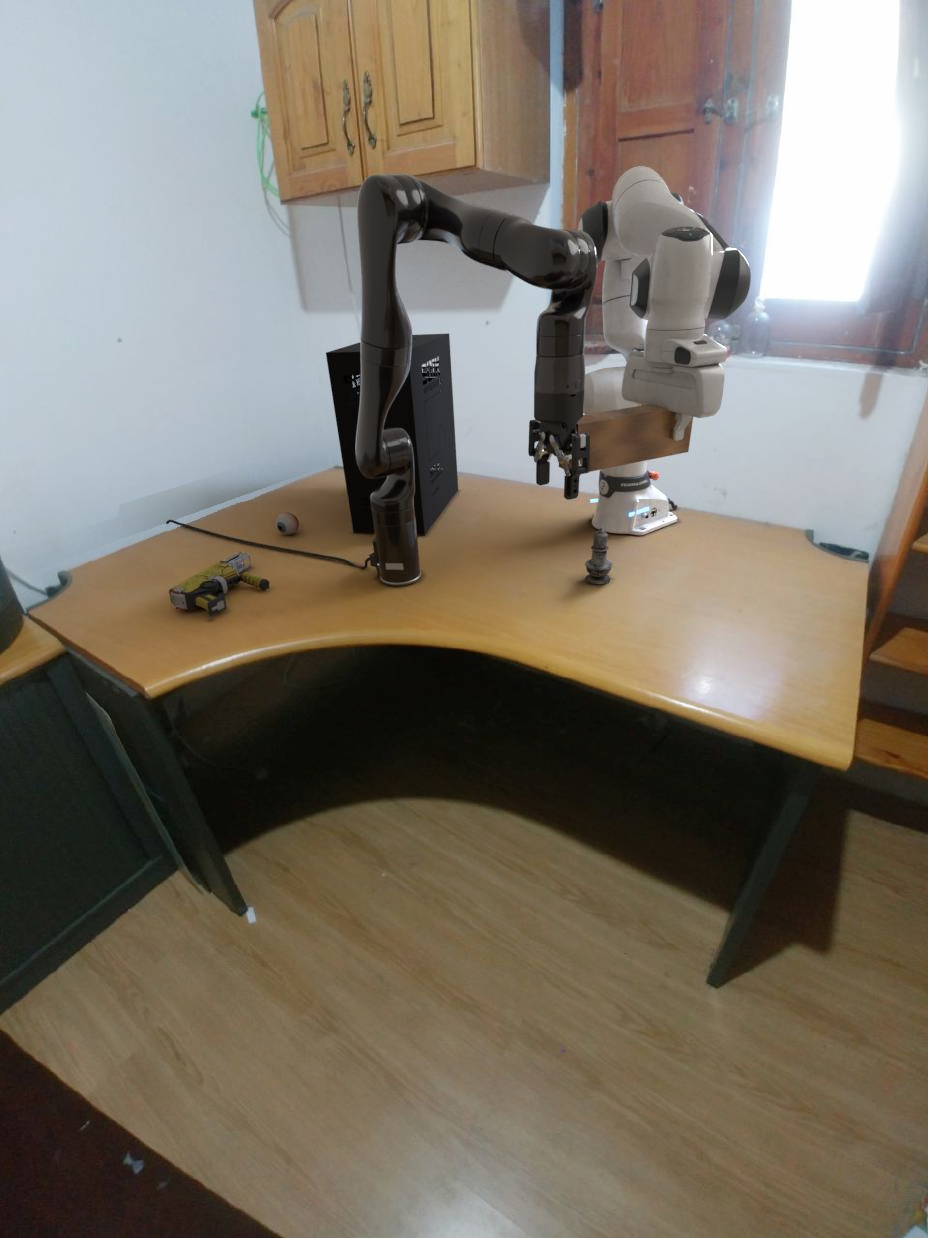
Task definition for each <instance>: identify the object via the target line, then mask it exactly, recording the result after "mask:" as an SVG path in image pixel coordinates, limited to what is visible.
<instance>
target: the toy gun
mask: <svg viewBox="0 0 928 1238" xmlns="http://www.w3.org/2000/svg"><path fill="white" fill-rule="evenodd" d="M248 559H249V563H248V564H247V563H245V561H247V560H248ZM251 562H252V561H251V555H250V554H249V553H248V552H246V551H245V552H244V553H243V551H238V552H237V553H234V554H232V555H231V556H229V557H227V558H225V559H224V560H220V561H218V562H216V563H215V564H213V565H211V566H209V567H207V568H206V569H204V570H202V571H200V572H198V573H196V574H195V575H192V576H191V577H189V578H187V579H186V580H183V581H181V582H180V583H178V584H176V585H174V586H173V587H170V588H169V589H168V594H169V599H170V603H171V605H172V606H173V607H174V608H175V610H179V611H184V610H187V611H189V610H195V609H199V608H202V609H205V610H206V611H208V616H209V617H214V616H216V615H218V614H220V613H223V611H225V610H227V603H226V597H225V595H226V594H227V593H228V591H229V588H231V587H233V586H236V585H238V584H239V583H241V582H242V583H245V584H247V585H250V586H252V587H255V588H258V589H260V590H261V591H266V590H268V589H269V588H270V581H269V579H267V578H262V577H260V576H257V575H254V574H251V573H249V572H247V571H246V572H244V571H245V570H246V569H248V568H251V567H252V563H251ZM242 572H243V573H242ZM240 573H242V574H241V575H240Z"/></svg>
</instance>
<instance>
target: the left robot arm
mask: <svg viewBox="0 0 928 1238" xmlns="http://www.w3.org/2000/svg"><path fill="white" fill-rule="evenodd" d="M357 195H358V196H357V203H356V221H357V222H356V224H357V240H358V252H359V264H360V265H359V266H360V267H359V268H360V287H361V288H360V291H361V292H360V295H361V299H360V300H361V301H360V302H361V303H360V305H361V308H360V309H361V320H360V363H361V380H360V381H359V382H360V384H359V385H360V404H359V414H358V423H357V432H356V444H355V452H356V460H357V464H358V467H359V470H360V472H361V473H362V474H363V475H364V476H365V477H366V478H369V479H376V478H381V477H385V476H387V478H386V479H385V481H384V482H383V483H382V485H381V486H379V487H378V488H377V489H376V490H374V491H373V492H372V494H371V496H370V502H371V509H372V517H373V524H374V531H375V533H374V538H373V539H372V549H373V552H372V553H370V554H369V555H368V557H367V558H365V560H364V565H363V566H359V565H357V564H355V563H353V562H351V561H350V560H348V559H345V558H342V557H338V556H337V557H336V556H331V555H326V554H320V553H314V552H309V551H302V550H297V549H292V548H285V547H282V546H281V547H280V546H275V545H268V544H264V543H260V542H256V541H255V542H254V541H249V540H245V539H240V538H236V537H233V536H230V535H229V536H228V535H224V534H220V533H216V532H213V531H211V530H210V531H209V530H206V529H202V528H198V527H196V526H192V525H189V524H186V523H183V522H179V521H176V520H174V519H168V520H167V521H166V522H165V525H169V524H170V523H172V524H175V525H178V526H181V527H185V528H188V529H191V530H194V531H198V532H201V533H205V534H208V535H212V536H215V537H218V538H223V539H227V540H230V541H234V542H238V543H244V544H247V545H253V546H257V547H261V548H262V547H263V548H266V549H267V548H268V549H273V550H277V551H283V552H289V553H295V554H300V555H306V556H310V557H317V558H322V559H327V560H333V561H339V562H342V563H345V564H347V565H349V566H352V567H353V568H357V569H359V570H366V569H367V568H368V565H369V564H370V567H373V568H375V569H376V577H377V579H379V580H380V582H382V583H383V584H385V585H386V586H387V585H388V586H391V587H401V586H408V585H411V584H414V583H416V582H418V581H419V580H420V579H421V578H422V571H421V570H422V569H421V562H420V561H421V560H420V551H419V541H418V535H417V529H416V519H415V509H414V493H415V475H414V454H413V447H412V443H411V440H410V437H409V435H408V434H407V432H406V431H405V430H404V429H403V428H401V427H390V428H385V429H384V423H385V419H386V416H387V413H388V410H389V408H390V406H391V404H392V403H393V401H394V399H395V398H396V396H397V394H398V393H399V391H400V389H401V387H402V386H403V384H404V382H405V380H406V378H407V376H408V373H409V370H410V364H411V352H412V335H413V327H412V323H411V319H410V317H409V314H408V312H407V309H406V307H405V305H404V303H403V301H402V298H401V295H400V293H399V289H398V285H397V278H396V275H397V274H396V272H397V271H396V268H397V267H396V266H397V265H396V264H397V250H398V245H405V244H412V243H414V242H418V241H424V242H425V241H428V242H429V241H430V242H438V243H443V244H447V245H449V246H451V247H454V248H455V249H457V251H458V252H460V253H461V254H462V255H463V256H465V257H466V258H468V259H469V260H471V261H473V262H476V263H478V264H481V265H483V266H486V267H489V268H492V269H495V270H498V271H501V272H505V273H509V274H511V275H513V276H514V277H516V278H518V279H519V280H521V281H523V282H525V283H526V284H529V285H531V286H533V287H535V288H539V289H543V290H548V291H551V292H550V297H549V302H548V306H547V308H546V309H545V310H543V311H542V312H541V313H539V315H538V317H537V320H536V328H535V334H536V336H535V363H534V371H533V372H534V373H533V418H534V419H531V420H530V419H529V422H528V423H529V424H528V448H527V449H528V451H527V453H528V456H529V457H533V461H534V463H535V466H536V467H535V483H536V485H538V486H545V485H548V484H550V480H551V478H550V474H551V472H550V471H551V469H550V468H551V462H550V460H551V458H552V456H554V457H556V460H557V463H558V464H559V463H560V464H562V466H563V469H562V470H563V473H564V481H563V498H564V499H565V500H567V501H569V500H573V499H577V498H578V497H579V493H580V477H581V475H584V474H589V473H590V472H589V470H590V434H589V433H582V434H580V433H578V432H577V427H576V423H577V422H578V421H579V420H580V419H581V418H582V417H583V415H584V413H583V409H584V386H585V374H586V362H585V347H586V345H585V344H586V320H587V317H588V313H589V309H590V307H591V301H592V297H593V294H594V289H595V284H596V279H597V273H598V262H597V252H596V247H595V244H594V242H593V240H592V238H591V237H590V236H589V235H588V234H587V233H586V232H584V231H581V230H577V229H575V228H574V229H573V228H572V229H566V228H565V229H563V228H561V229H560V228H558V229H557V228H551V227H545V226H540V225H536V224H533V223H532V221H530V220H528V219H527V218H525V217H523V216H520V215H517V214H514V213H510V212H506V211H504V210H500V209H496V208H491V207H487V206H483V205H479V204H475V203H471V202H468V201H464V200H462V199H459V198H457V197H454V196H452V195H449V194H448V193H446V192H444V191H442V190H440V189H438V188H437V187H435V186H432V185H431V184H429V183H427V182H426V181H424V180H422V179H420V178H418V177H416V176H414V175H412V174H408V173H375V174H370V175H369V176H367V177H366V178H365V179H364V180H363V181H362V183H361V185H360V188H359V191H358V194H357ZM536 443H537V444H536ZM535 445H536V446H535ZM571 451H572V454H571V455H568V454H569V453H570V452H571ZM582 458H583V466H581V464H580V461H579V459H582ZM569 462H572V468H570V465H569Z"/></svg>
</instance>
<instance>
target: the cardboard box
mask: <svg viewBox="0 0 928 1238" xmlns="http://www.w3.org/2000/svg"><path fill="white" fill-rule="evenodd" d="M450 342H451V340H450V333H429V334H428V333H424V334H423V333H422V334H412V352H411V364H410V370H409V373H408V376H407V378H406V380H405V382H404V384H403V386H402V387H401V389H400V391H399V393H398V394H397V396H396V398H395V399H394V401H393V403H392V404H391V406H390V408H389V410H388V413H387V416H386V419H385V423H384V429H385V428H390V427H401V428H403V429H404V430H405V431H406V432H407V434H408V435H409V437H410V440H411V443H412V447H413V454H414V475H415V493H414V509H415V519H416V529H417V536H426V534H428V532H429V531H430V529H431V528H432V526H433V525H434V524H435V522H436V521H437V520H438V519H439V517H440V515H441V514H442V513H443V512H444V510H445V509H446V507H447V506H448V505H449V503H450V502H451V501H452V500H453V498H454V497H455V495H456V494H457V493H458V491H459V481H458V480H459V479H458V461H457V446H456V444H457V443H456V427H455V409H454V407H455V406H454V393H453V392H454V390H453V375H452V357H451V343H450ZM325 356H326V362H327V364H326V365H327V370H328V374H329V383H330V390H331V396H332V402H333V409H334V415H335V421H336V428H337V429H336V430H337V435H338V441H339V448H340V454H341V455H340V456H341V461H342V469H343V474H344V482H345V487H346V493H347V499H348V508H349V513H350V514H349V515H350V520H351V526H352V527H351V528H352V532H353V533H355V534H356V533H357V534H375V531H374V524H373V517H372V509H371V502H370V496H371V494H372V492H373V491H374V490H376V489H377V488H378V487H379V486H381V485H382V483H383V482H384V481H385V479H386V478H387V476H385V477H381V478H376V479H369V478H366V477H365V476H364V475H363V474H362V473H361V472H360V470H359V467H358V464H357V460H356V452H355V444H356V432H357V423H358V414H359V404H360V380H361V363H360V342H359V341H358V342H355V343H353V344H350V345H347V346H343V347H339V348H337V349H333V350H330V351H327V352H325ZM433 360H434V361H433ZM423 365H425V366H423Z"/></svg>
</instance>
